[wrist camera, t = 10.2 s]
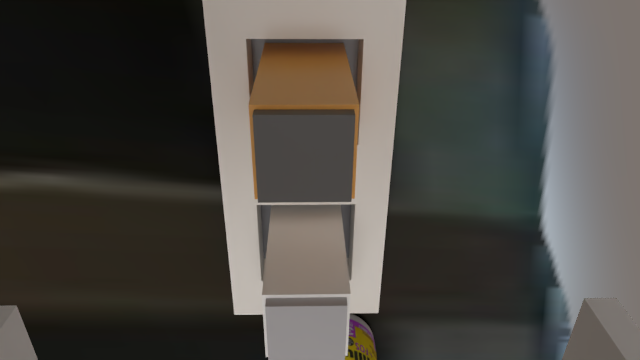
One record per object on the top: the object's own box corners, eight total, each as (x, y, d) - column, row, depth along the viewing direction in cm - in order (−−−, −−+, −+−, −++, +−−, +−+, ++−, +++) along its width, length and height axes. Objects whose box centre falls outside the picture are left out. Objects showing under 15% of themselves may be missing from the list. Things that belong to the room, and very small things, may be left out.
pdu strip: (210, -33, 27) (199, -25, 24) (398, -32, 27) (408, -24, 24) (239, 285, 38) (234, 314, 35) (373, 283, 38) (378, 312, 35)
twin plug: (272, 195, 33) (260, 303, 24) (339, 195, 33) (351, 302, 25) (274, 249, 35) (264, 366, 27) (337, 248, 35) (348, 364, 27)
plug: (264, 42, 28) (246, 110, 19) (343, 42, 28) (360, 110, 20) (268, 116, 30) (253, 206, 22) (341, 116, 30) (355, 205, 22)
